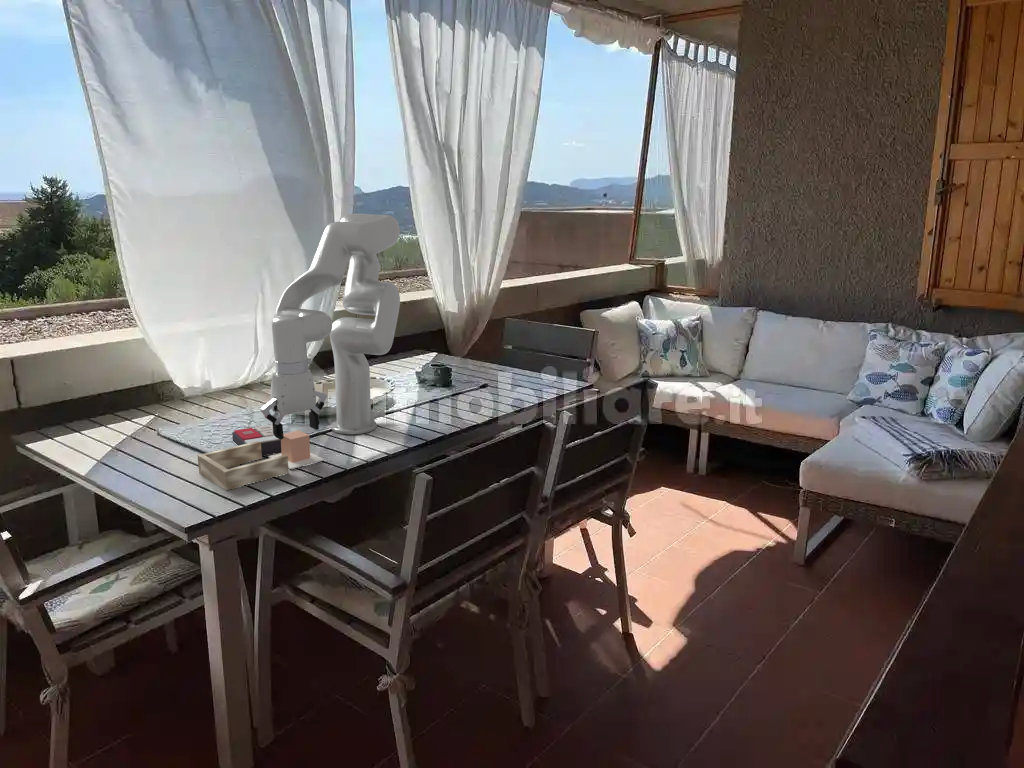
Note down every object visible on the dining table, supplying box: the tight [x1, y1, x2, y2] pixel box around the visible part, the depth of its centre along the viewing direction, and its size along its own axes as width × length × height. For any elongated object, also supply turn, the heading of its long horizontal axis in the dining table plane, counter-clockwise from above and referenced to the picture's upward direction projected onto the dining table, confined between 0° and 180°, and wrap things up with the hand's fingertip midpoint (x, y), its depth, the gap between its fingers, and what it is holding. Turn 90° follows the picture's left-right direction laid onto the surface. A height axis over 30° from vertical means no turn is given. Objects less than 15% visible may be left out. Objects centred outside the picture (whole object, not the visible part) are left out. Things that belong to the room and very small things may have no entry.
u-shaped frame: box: [197, 441, 290, 491], centre depth 173 cm, size 15×14×4 cm
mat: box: [267, 452, 325, 470], centre depth 183 cm, size 9×11×1 cm
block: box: [281, 430, 311, 463], centre depth 182 cm, size 5×5×6 cm
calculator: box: [231, 424, 282, 456], centre depth 192 cm, size 11×4×15 cm
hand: (297, 433), depth 182 cm, fingers open, 9 cm apart
